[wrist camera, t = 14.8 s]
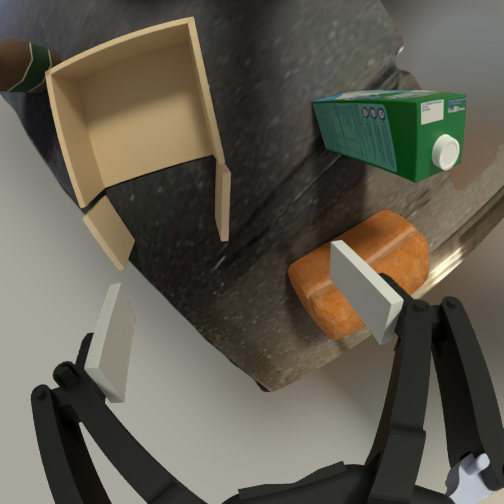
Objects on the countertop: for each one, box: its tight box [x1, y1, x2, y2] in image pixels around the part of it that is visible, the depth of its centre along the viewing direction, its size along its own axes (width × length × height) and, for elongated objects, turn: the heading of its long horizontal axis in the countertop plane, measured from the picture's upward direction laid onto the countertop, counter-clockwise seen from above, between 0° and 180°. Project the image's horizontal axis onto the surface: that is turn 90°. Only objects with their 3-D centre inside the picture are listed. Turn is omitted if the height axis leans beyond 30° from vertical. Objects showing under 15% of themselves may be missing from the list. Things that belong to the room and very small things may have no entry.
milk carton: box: [312, 90, 466, 183], centre depth 32 cm, size 9×9×25 cm
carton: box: [45, 17, 225, 208], centre depth 32 cm, size 20×20×10 cm
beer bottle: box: [0, 39, 61, 93], centre depth 18 cm, size 8×8×24 cm
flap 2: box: [215, 161, 231, 241], centre depth 40 cm, size 1×9×10 cm, turn 177°
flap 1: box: [83, 195, 135, 272], centre depth 39 cm, size 1×9×10 cm, turn 25°
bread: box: [287, 209, 429, 339], centre depth 50 cm, size 14×26×16 cm, turn 117°
